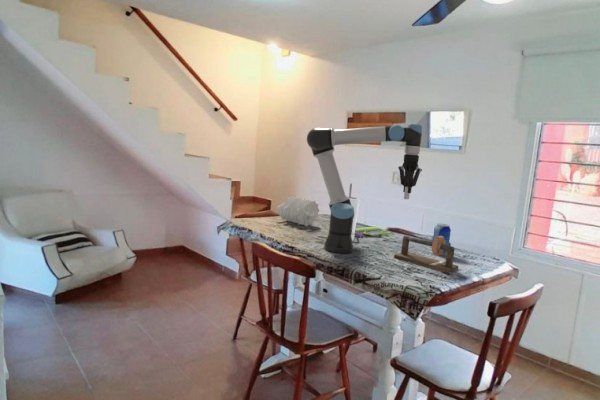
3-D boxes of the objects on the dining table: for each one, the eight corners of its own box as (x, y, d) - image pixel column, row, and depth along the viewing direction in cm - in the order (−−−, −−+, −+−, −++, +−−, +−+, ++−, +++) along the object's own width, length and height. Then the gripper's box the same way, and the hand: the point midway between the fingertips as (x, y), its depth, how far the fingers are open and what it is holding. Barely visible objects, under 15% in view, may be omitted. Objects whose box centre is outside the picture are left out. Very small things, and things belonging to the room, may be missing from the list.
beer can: (439, 256, 227) (443, 226, 225) (427, 251, 235) (431, 223, 232) (450, 255, 231) (454, 226, 229) (439, 251, 239) (443, 223, 236)
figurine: (394, 242, 255) (395, 232, 254) (349, 237, 256) (350, 228, 255) (390, 235, 273) (391, 226, 272) (348, 231, 274) (349, 222, 274)
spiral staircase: (289, 225, 295) (316, 231, 277) (272, 216, 282) (299, 221, 265) (298, 201, 299) (325, 205, 281) (282, 190, 286) (309, 194, 269)
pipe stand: (446, 272, 196) (449, 248, 195) (394, 257, 216) (396, 235, 214) (458, 268, 205) (461, 245, 203) (406, 254, 224) (409, 233, 223)
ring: (434, 256, 202) (437, 238, 201) (430, 255, 203) (433, 237, 202) (443, 254, 208) (446, 236, 207) (439, 253, 210) (442, 235, 208)
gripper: (426, 155, 222) (421, 200, 225) (404, 153, 231) (399, 196, 234) (419, 155, 217) (413, 201, 220) (397, 153, 226) (391, 197, 229)
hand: (406, 198), depth 227 cm, fingers closed
